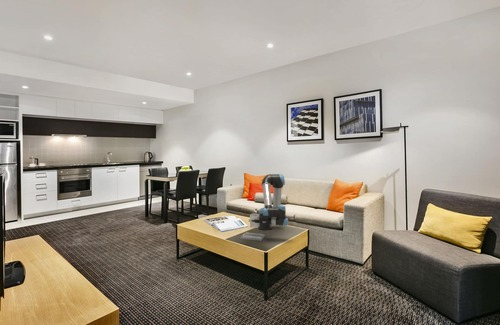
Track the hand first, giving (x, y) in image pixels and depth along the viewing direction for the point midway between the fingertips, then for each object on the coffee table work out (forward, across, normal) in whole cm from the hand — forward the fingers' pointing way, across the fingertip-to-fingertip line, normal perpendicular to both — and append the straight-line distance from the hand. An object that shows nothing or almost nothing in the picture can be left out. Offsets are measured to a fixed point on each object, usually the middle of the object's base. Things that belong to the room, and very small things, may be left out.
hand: (249, 219), depth 262 cm
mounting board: (-3, 0, -18) cm, 18 cm away
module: (-5, 0, -7) cm, 9 cm away
